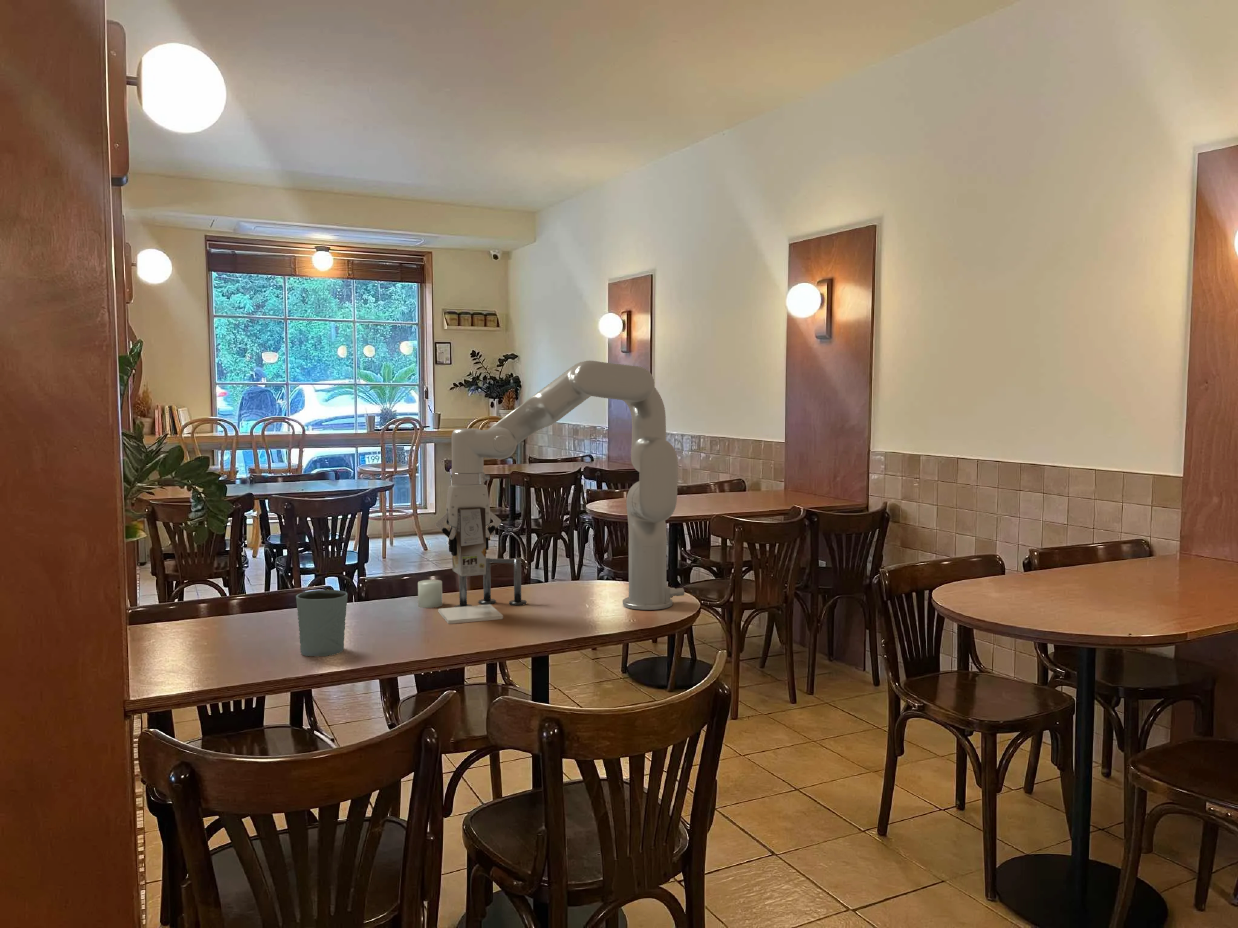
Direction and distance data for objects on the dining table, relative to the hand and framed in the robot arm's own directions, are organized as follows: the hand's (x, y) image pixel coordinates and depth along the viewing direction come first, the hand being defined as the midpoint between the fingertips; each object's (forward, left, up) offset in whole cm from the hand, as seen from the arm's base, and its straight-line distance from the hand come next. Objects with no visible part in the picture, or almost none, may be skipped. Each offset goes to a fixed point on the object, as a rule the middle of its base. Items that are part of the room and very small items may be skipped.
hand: (468, 553), depth 222 cm
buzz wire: (-7, -10, -15) cm, 19 cm away
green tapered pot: (+35, +20, -15) cm, 43 cm away
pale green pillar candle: (+7, -15, -15) cm, 22 cm away
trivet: (0, 0, -15) cm, 15 cm away
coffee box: (0, 0, -5) cm, 5 cm away
